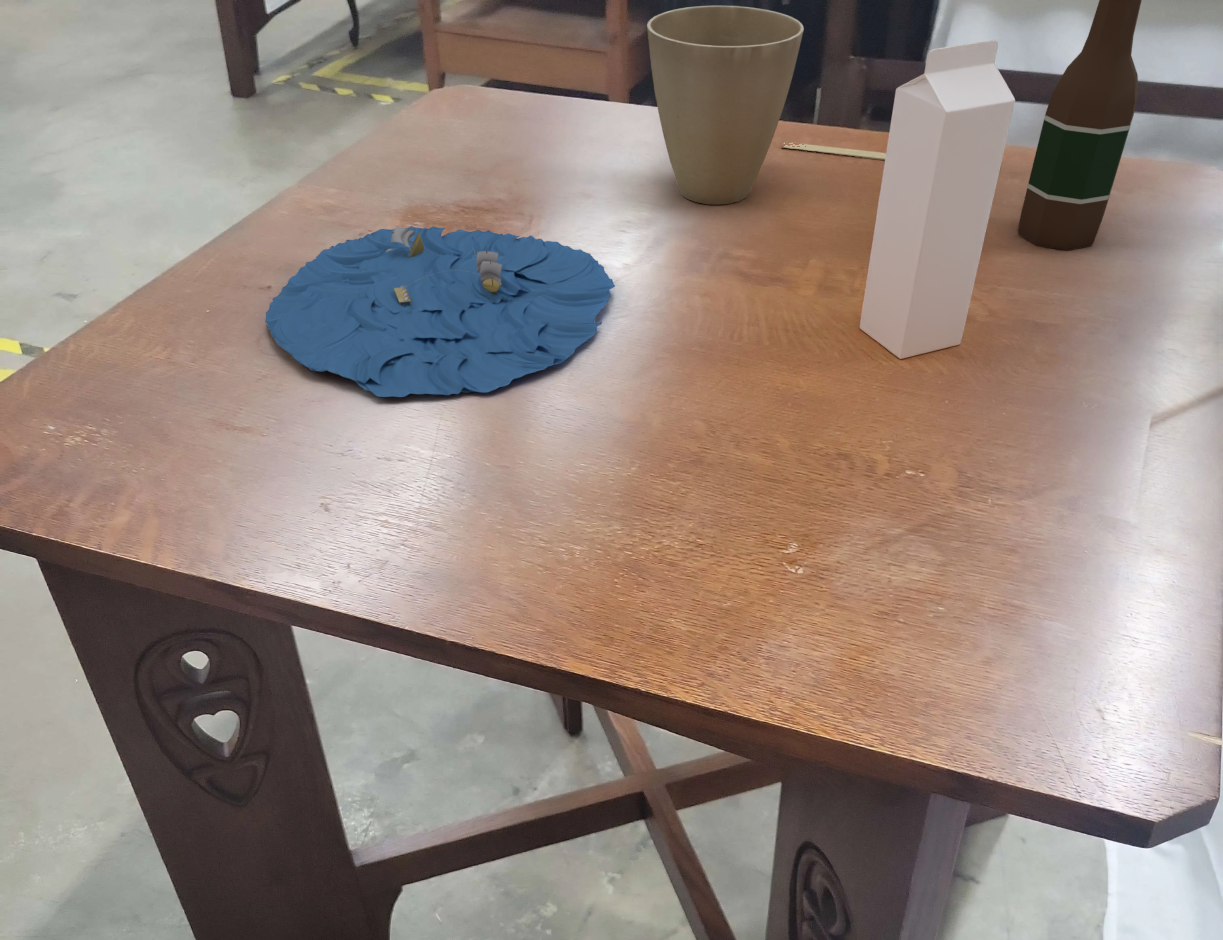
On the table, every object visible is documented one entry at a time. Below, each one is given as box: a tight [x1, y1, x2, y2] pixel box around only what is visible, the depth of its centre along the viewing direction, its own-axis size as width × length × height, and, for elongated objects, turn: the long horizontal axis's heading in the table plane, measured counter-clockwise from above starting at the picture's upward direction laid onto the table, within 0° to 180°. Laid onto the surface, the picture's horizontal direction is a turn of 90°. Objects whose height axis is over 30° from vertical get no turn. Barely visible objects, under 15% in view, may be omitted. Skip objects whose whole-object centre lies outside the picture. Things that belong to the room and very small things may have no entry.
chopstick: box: [783, 142, 886, 161], centre depth 119 cm, size 24×2×1 cm, turn 69°
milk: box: [859, 39, 1016, 360], centre depth 81 cm, size 6×6×22 cm
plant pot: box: [646, 5, 805, 206], centre depth 107 cm, size 15×15×16 cm
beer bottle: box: [1017, 0, 1142, 251], centre depth 95 cm, size 8×8×24 cm
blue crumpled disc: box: [264, 225, 616, 398], centre depth 91 cm, size 30×30×5 cm
